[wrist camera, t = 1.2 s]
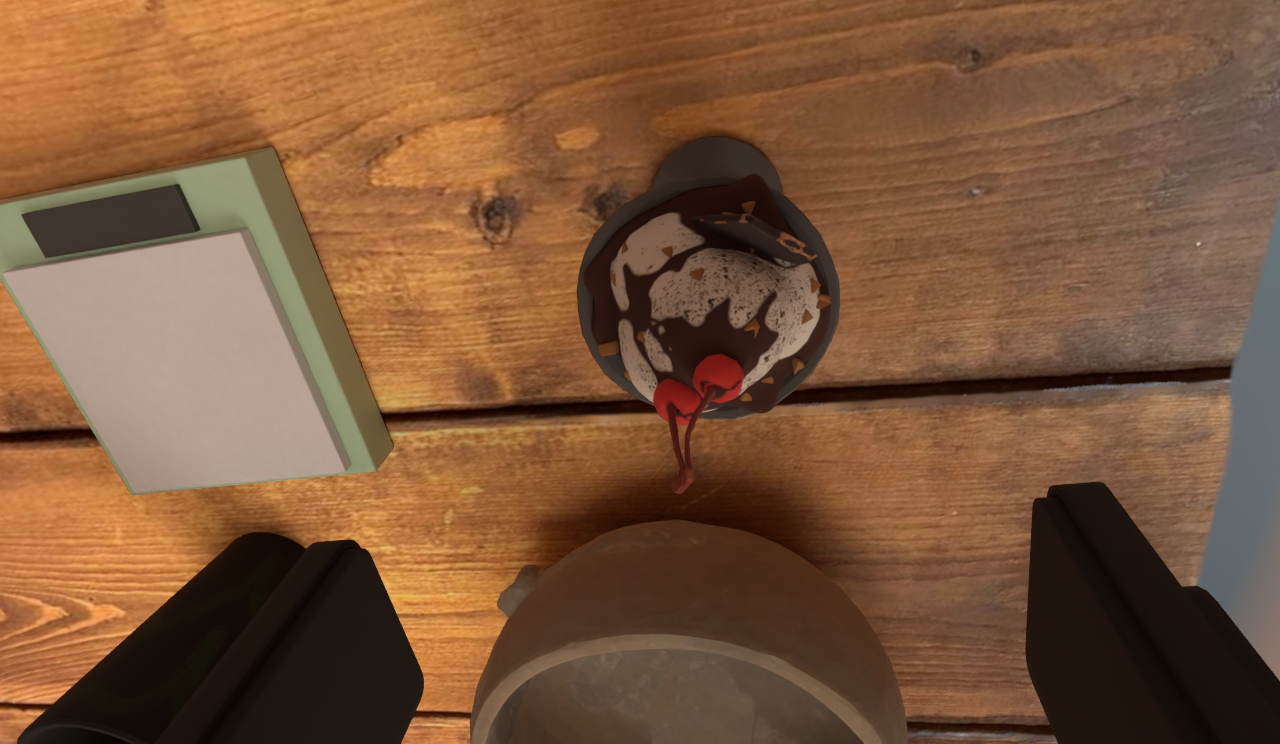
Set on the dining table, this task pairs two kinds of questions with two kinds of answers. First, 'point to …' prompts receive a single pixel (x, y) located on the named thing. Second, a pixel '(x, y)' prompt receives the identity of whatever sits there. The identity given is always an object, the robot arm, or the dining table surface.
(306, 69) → the dining table surface
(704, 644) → the bowl
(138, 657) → the cup
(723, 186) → the sundae
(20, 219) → the scale
